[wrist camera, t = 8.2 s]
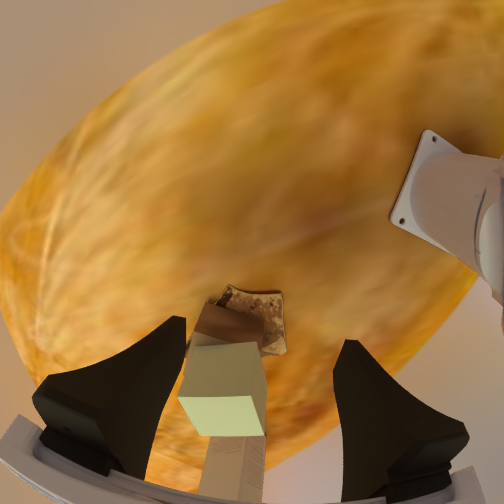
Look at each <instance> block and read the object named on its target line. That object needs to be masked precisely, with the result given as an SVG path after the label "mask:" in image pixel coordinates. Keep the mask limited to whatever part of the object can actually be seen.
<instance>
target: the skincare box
mask: <svg viewBox="0 0 504 504" xmlns="http://www.w3.org/2000/svg"><path fill="white" fill-rule="evenodd" d="M265 453H266V436H265V435H263V436H211V438H210V442H209V446H208V451H207V455H206V459H205V463H204V468H203V472H202V476H201V480H200V484H199V489H198V493H197V495H202V496H208V497H213V498H220V499H226V500H234V501H242V502H252V503H262V490H263V478H264V466H265Z"/></svg>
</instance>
